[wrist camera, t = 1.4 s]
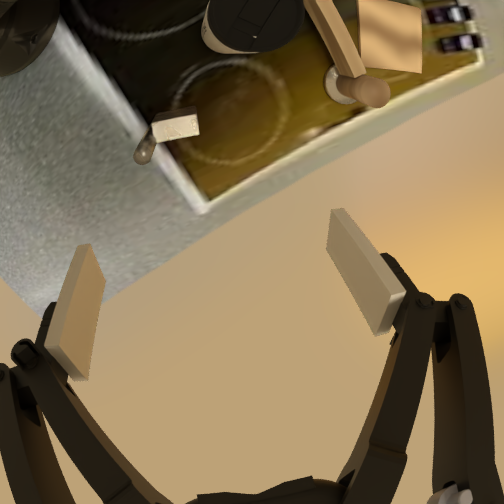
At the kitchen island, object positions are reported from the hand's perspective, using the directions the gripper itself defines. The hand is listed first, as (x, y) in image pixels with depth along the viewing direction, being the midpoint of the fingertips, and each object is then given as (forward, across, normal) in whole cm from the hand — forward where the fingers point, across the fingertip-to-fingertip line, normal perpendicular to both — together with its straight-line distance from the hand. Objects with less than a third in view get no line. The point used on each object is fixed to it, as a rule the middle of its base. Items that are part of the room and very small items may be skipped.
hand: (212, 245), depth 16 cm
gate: (+25, +15, +14) cm, 33 cm away
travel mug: (+27, +4, +12) cm, 30 cm away
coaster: (+27, +28, +13) cm, 41 cm away
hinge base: (+27, +20, +5) cm, 34 cm away
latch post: (+27, -2, +1) cm, 27 cm away
